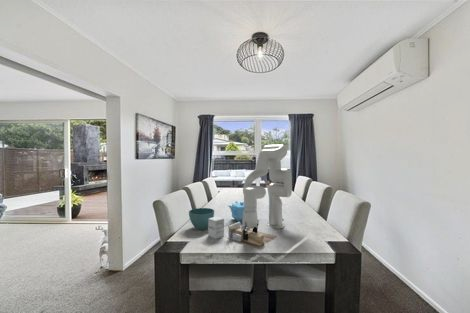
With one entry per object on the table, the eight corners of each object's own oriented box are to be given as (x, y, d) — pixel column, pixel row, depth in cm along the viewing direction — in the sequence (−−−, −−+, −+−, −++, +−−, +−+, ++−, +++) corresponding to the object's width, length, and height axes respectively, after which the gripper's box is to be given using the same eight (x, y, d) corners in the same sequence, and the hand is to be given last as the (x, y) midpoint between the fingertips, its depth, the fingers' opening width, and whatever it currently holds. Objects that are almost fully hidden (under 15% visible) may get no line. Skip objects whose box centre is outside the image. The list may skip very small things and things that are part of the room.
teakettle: (248, 225, 168) (248, 205, 168) (226, 222, 175) (226, 203, 175) (256, 218, 185) (256, 200, 185) (235, 216, 192) (235, 199, 192)
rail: (239, 236, 141) (239, 228, 140) (263, 243, 129) (263, 234, 129) (235, 238, 137) (235, 230, 137) (260, 245, 126) (260, 236, 126)
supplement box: (207, 238, 142) (207, 218, 142) (217, 235, 147) (216, 216, 147) (215, 241, 137) (215, 220, 136) (224, 238, 142) (224, 218, 142)
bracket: (239, 234, 145) (239, 221, 145) (250, 237, 139) (250, 224, 139) (228, 239, 136) (228, 226, 136) (239, 242, 131) (239, 228, 131)
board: (247, 231, 155) (247, 228, 155) (277, 238, 140) (277, 236, 140) (226, 240, 138) (226, 238, 138) (258, 250, 123) (258, 247, 123)
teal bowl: (209, 233, 151) (209, 215, 151) (184, 231, 155) (184, 213, 155) (217, 224, 169) (217, 208, 169) (194, 223, 172) (194, 207, 172)
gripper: (253, 205, 142) (253, 232, 142) (236, 210, 128) (236, 240, 128) (263, 206, 137) (263, 234, 137) (246, 212, 123) (247, 243, 124)
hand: (250, 237), depth 133 cm, fingers open, 9 cm apart
